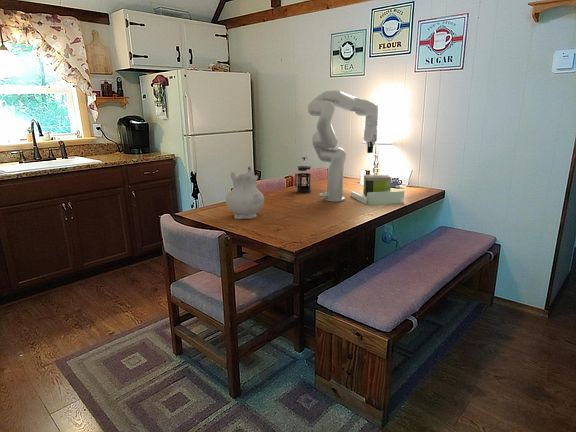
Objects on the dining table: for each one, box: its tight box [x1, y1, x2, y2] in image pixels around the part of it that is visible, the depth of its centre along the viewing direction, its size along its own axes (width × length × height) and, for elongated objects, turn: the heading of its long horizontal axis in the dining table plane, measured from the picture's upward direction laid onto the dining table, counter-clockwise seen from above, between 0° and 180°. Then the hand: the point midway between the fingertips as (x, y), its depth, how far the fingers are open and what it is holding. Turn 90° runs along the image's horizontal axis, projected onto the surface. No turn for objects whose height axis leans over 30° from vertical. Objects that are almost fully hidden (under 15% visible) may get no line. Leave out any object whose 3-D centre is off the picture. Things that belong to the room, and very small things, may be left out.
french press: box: [294, 156, 312, 194], centre depth 252 cm, size 12×9×23 cm
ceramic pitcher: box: [225, 166, 265, 220], centre depth 196 cm, size 22×20×25 cm
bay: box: [350, 190, 405, 206], centre depth 234 cm, size 23×24×7 cm
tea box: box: [362, 174, 392, 197], centre depth 232 cm, size 15×10×15 cm, turn 85°
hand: (369, 152), depth 247 cm, fingers closed
